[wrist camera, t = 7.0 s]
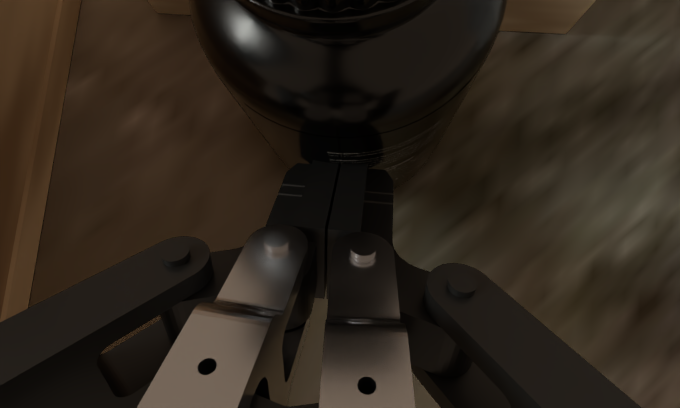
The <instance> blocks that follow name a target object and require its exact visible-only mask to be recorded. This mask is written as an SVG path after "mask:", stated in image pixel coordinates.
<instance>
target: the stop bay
mask: <svg viewBox="0 0 680 408" xmlns="http://www.w3.org/2000/svg"><path fill="white" fill-rule="evenodd" d="M147 1H148V2H149V3H150V5H151V6H152V7H153V8H154V9H155V11H156V12H157V13H163V14H183V15H191V13H190V8H189V0H147ZM595 1H596V0H507V6H506V10H505V14H504V18H503V21H502V24H501V26H500V29H499V31H519V32H538V33H558V34H566V33H567V32H568V31H569V30H570V29H571V28H572V27H573V26H574V24H575V23H576V22H577V21H578V20H579V19H580V18H581V17H582V15H583V14H584V13H585V12H586V11H587V10H588V9H589V8H590V7H591V5H592V4H593V3H594V2H595Z"/></svg>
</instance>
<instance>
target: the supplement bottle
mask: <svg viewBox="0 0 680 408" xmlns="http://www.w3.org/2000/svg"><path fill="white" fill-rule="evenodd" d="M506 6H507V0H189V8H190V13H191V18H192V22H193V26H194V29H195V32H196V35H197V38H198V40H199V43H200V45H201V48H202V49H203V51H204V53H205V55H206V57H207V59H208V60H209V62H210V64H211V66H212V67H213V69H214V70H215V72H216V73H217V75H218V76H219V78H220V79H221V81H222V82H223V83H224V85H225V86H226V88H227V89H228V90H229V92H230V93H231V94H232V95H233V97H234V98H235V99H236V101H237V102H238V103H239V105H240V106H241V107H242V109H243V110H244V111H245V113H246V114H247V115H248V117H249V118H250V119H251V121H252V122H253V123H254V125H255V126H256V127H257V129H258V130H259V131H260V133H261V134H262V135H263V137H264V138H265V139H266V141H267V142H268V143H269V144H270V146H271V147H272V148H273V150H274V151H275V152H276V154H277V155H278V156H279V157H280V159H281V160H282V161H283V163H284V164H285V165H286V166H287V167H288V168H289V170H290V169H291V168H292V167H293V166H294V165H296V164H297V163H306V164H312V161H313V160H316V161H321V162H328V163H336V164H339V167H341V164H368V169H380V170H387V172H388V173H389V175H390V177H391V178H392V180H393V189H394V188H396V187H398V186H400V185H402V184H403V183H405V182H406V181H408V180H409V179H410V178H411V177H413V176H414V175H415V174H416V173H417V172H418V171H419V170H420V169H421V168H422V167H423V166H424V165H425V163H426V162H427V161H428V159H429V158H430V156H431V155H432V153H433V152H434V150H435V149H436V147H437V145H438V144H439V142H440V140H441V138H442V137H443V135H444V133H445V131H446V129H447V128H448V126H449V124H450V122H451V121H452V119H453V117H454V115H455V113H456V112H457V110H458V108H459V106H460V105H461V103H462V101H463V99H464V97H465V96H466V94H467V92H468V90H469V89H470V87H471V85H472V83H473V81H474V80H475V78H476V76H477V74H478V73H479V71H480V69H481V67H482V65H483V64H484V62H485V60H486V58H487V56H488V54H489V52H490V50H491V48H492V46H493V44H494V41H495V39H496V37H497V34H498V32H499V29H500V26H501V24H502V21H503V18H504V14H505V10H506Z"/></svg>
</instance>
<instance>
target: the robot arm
mask: <svg viewBox="0 0 680 408" xmlns="http://www.w3.org/2000/svg"><path fill="white" fill-rule="evenodd" d="M392 228H393V180H392V178H391V177H390V175H389V173H388V172H387V170H380V169H368V164H341V167H339V164H336V163H328V162H321V161H316V160H313V161H312V164H306V163H297V164H296V165H294V166H293V167H292V168H291V169H290V170H289V171H287V172H286V175H285V178H284V180H283V183H282V186H281V188H280V190H279V195H278V196H277V198H276V201H275V203H274V206H273V208H272V211H271V214H270V216H269V219H268V221H267V224H266V227H263V228H261V229H259V230H257V231H256V232H254V233H253V234H252V235H251V236H250V237H249V239H248V240H247V242H246V244H245V246H243V247H240V248H237V249H232V250H225V251H218V252H211V253H210V251H209V248H208V246H207V244H206V243H205V242H203V241H202V240H200V239H198V238H194V237H189V236H181V237H174V238H170V239H167V240H165V241H162V242H160V243H158V244H156V245H154V246H152V247H150V248H148V249H146V250H144V251H142V252H140V253H138V254H136V255H134V256H132V257H130V258H128V259H126V260H124V261H122V262H120V263H118V264H116V265H114V266H112V267H110V268H108V269H106V270H104V271H102V272H100V273H98V274H96V275H94V276H92V277H90V278H88V279H86V280H84V281H82V282H80V283H78V284H76V285H74V286H72V287H70V288H68V289H66V290H64V291H62V292H60V293H58V294H56V295H54V296H52V297H50V298H48V299H46V300H44V301H42V302H40V303H38V304H36V305H34V306H32V307H30V308H28V309H26V310H24V311H22V312H20V313H18V314H16V315H14V316H12V317H10V318H8V319H6V320H4V321H2V322H0V408H415V400H414V390H413V381H412V371H413V373H414V374H415V376H416V377H417V379H418V380H419V381H420V382H421V384H422V385H423V386H424V387H425V389H426V390H427V391H428V392H429V394H430V395H431V396H432V397H433V398H434V400H435V401H436V402H437V403H438V405H439V406H440V407H441V408H641V407H640V406H639V405H638V404H636V403H635V402H634V401H633V400H632V399H630V398H629V397H628V396H627V395H626V394H625V393H623V392H622V391H621V390H620V389H619V388H618V387H616V386H615V385H614V384H613V383H612V382H610V381H609V380H608V379H607V378H606V377H605V376H603V375H602V374H601V373H600V372H599V371H597V370H596V369H595V368H594V367H593V366H592V365H590V364H589V363H588V362H587V361H586V360H585V359H583V358H582V357H581V356H580V355H579V354H577V353H576V352H575V351H574V350H573V349H572V348H570V347H569V346H568V345H567V344H566V343H565V342H563V341H562V340H561V339H560V338H559V337H557V336H556V335H555V334H554V333H553V332H552V331H550V330H549V329H548V328H547V327H546V326H544V325H543V324H542V323H541V322H540V321H539V320H537V319H536V318H535V317H534V316H533V315H532V314H530V313H529V312H528V311H527V310H526V309H524V308H523V307H522V306H521V305H520V304H519V303H517V302H516V301H515V300H514V299H513V298H511V297H510V296H509V295H508V294H507V293H506V292H504V291H503V290H502V289H501V288H500V287H499V286H497V285H496V284H495V283H494V282H493V281H491V280H490V279H489V278H488V277H487V276H486V275H484V274H483V273H482V272H480V271H479V270H477V269H475V268H473V267H470V266H467V265H464V264H458V263H449V264H443V265H440V266H438V267H436V268H434V269H433V270H432V271H431V272H428V271H425V270H422V269H420V268H417V267H414V266H412V265H410V264H408V263H407V262H405V261H404V260H403V259H402V258H401V257H399V255H398V254H397V253H396V251H395V250H394V247H393V243H392ZM326 286H327V299H328V311H327V319H326V323H325V333H324V347H323V360H322V373H321V386H320V399H319V403H315V404H308V405H301V406H292V407H289V406H288V398H289V393H290V389H291V385H292V382H293V378H294V375H295V372H296V368H297V365H298V362H299V358H300V355H301V351H302V348H303V345H304V341H305V338H306V335H307V331H308V328H309V324H310V314H311V311H312V307H313V302H314V298H323V299H324V297H325V291H326ZM158 315H160V316H161V319H160V320H159V321H157V322H156V323H154V324H152V325H151V326H149V327H147V328H146V329H144V330H142V331H141V332H139V333H138V334H136V335H134V336H133V337H131V338H129V339H128V340H126V341H124V342H123V343H121V344H120V345H118V346H116V347H115V348H113V349H111V350H110V351H108V352H106V353H104V354H101V352H102V351H103V350H104V349H105V348H106V347H107V346H109V345H110V344H112V343H113V342H115V341H117V340H118V339H120V338H122V337H123V336H125V335H127V334H128V333H130V332H132V331H133V330H135V329H137V328H138V327H140V326H142V325H143V324H145V323H147V322H148V321H150V320H151V319H153V318H155V317H156V316H158ZM100 354H101V355H100ZM411 368H412V371H411Z"/></svg>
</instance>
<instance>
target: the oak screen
mask: <svg viewBox="0 0 680 408" xmlns="http://www.w3.org/2000/svg"><path fill="white" fill-rule="evenodd" d="M80 5H81V0H0V322H2V321H4V320H6V319H8V318H10V317H12V316H14V315H16V314H18V313H20V312H22V311H24V310H26V309H28V304H29V298H30V293H31V287H32V281H33V275H34V270H35V264H36V258H37V252H38V247H39V241H40V235H41V229H42V224H43V218H44V212H45V206H46V201H47V195H48V189H49V183H50V178H51V172H52V166H53V160H54V155H55V149H56V143H57V137H58V132H59V126H60V120H61V114H62V109H63V103H64V97H65V91H66V86H67V80H68V74H69V68H70V63H71V57H72V51H73V45H74V39H75V34H76V28H77V22H78V16H79V11H80Z"/></svg>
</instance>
